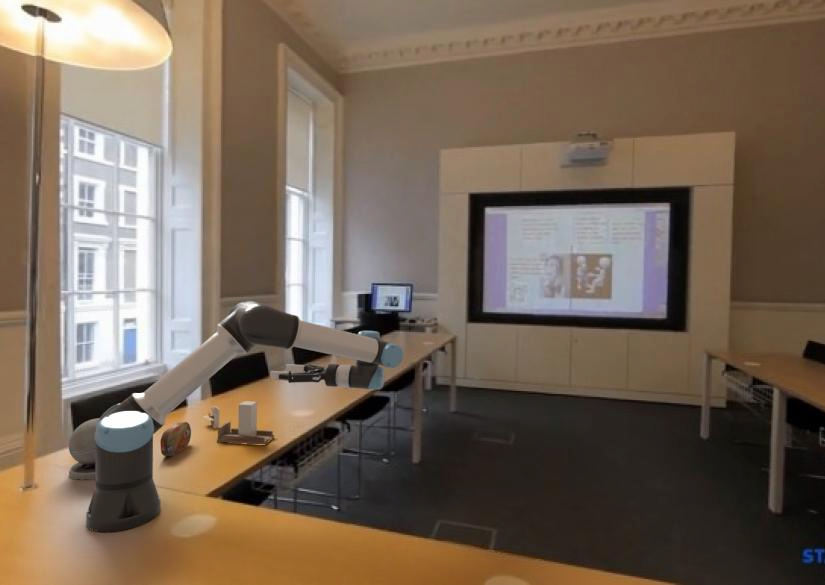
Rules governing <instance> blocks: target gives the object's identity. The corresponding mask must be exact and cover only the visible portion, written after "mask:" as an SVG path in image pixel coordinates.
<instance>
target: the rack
mask: <svg viewBox="0 0 825 585" xmlns="http://www.w3.org/2000/svg"><path fill="white" fill-rule="evenodd" d="M231 423H232V422H231V421H230V420H229V421H228V420H227V421H225V423H223V424H221V425H219V427H218V428H217V439H216V443H219V442H231V443H230V444H233V443H247V444H266V443H267V442H268V441H269V440H270V439H271V438H273V437H274V438H275V435H274V434H273V432H274V431H273V430H263V429H257V436H255V437H253V436H239V435H238V427H237V428H235V427H232V428H231V426H232V425H231ZM274 438H273V439H274ZM268 443H269V442H268ZM268 443H267V444H268ZM247 444H246V445H247ZM267 444H266V445H267Z"/></svg>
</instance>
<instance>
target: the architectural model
mask: <svg viewBox="0 0 825 585" xmlns="http://www.w3.org/2000/svg"><path fill="white" fill-rule="evenodd" d="M210 410H211V413H212V414H211V413H210V412H208V414H207V415H203V416H202V417H203V418H204V419H205V420H206V421H209V422H210V424H211V427H212V426H214V427H218V426H220V408H219V407H217V406H215V405H212V407H210ZM214 427H213V428H214Z"/></svg>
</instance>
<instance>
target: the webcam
mask: <svg viewBox="0 0 825 585" xmlns="http://www.w3.org/2000/svg"><path fill="white" fill-rule="evenodd" d="M100 418H101V417H99V418H93V419H89V420H87V421H84V422H82V423H81V424H79V426H78V427H76V428H75V430H74V431H73V432H72V434H71V435H70V437H69V440H68V451H69V454H70V455H71V457H72V459H73V460H75V462H76V463H74V464H73V465H72V466H71V467H70V468H69V470H68V471H69V472H68V476H69V477H70V478H71V479H73V480H77V479H89V480H96V441H95V431H96V426H97V424H98V422H99V420H100Z"/></svg>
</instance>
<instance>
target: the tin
mask: <svg viewBox="0 0 825 585" xmlns="http://www.w3.org/2000/svg"><path fill="white" fill-rule="evenodd" d="M191 435H192V429H191V425H190V424H189V423H188V422H187V421H184V422H177V423H175V424H173V425H172V426H171V427H170V428H168V429H166V430H164V431H163V433H162V435H161V438H160V441H159V442H160V452H161V455H162V456H164V457H175V456H176V455H178V454H179V453H181V450H184V449H185V447H186V448H187V447H188V446H189V443H190V441H191V437H192V436H191ZM177 453H178V454H177Z"/></svg>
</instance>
